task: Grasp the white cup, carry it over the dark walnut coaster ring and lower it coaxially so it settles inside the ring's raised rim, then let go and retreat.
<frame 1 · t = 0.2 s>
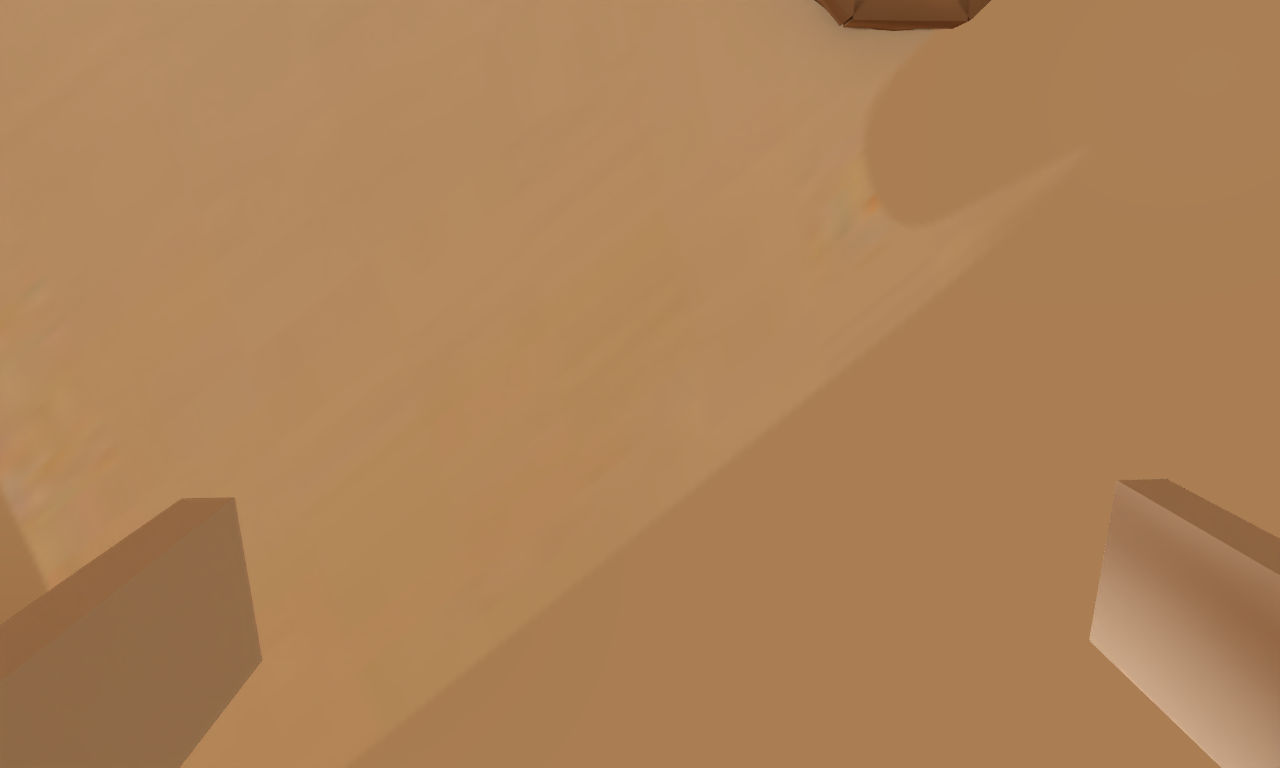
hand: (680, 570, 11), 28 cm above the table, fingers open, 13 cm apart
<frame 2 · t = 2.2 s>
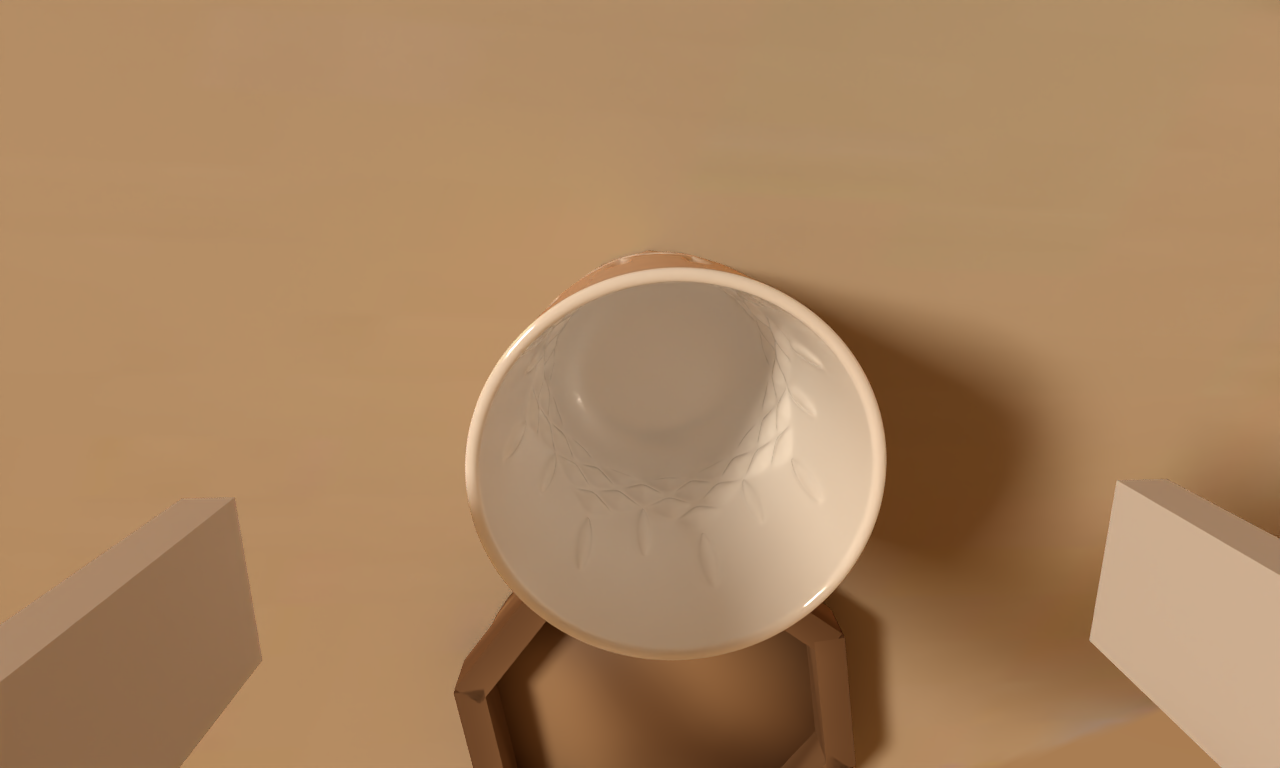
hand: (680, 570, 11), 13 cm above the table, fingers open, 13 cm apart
white cup: (655, 355, 23), on the table
coaster ring: (656, 688, 26), on the table
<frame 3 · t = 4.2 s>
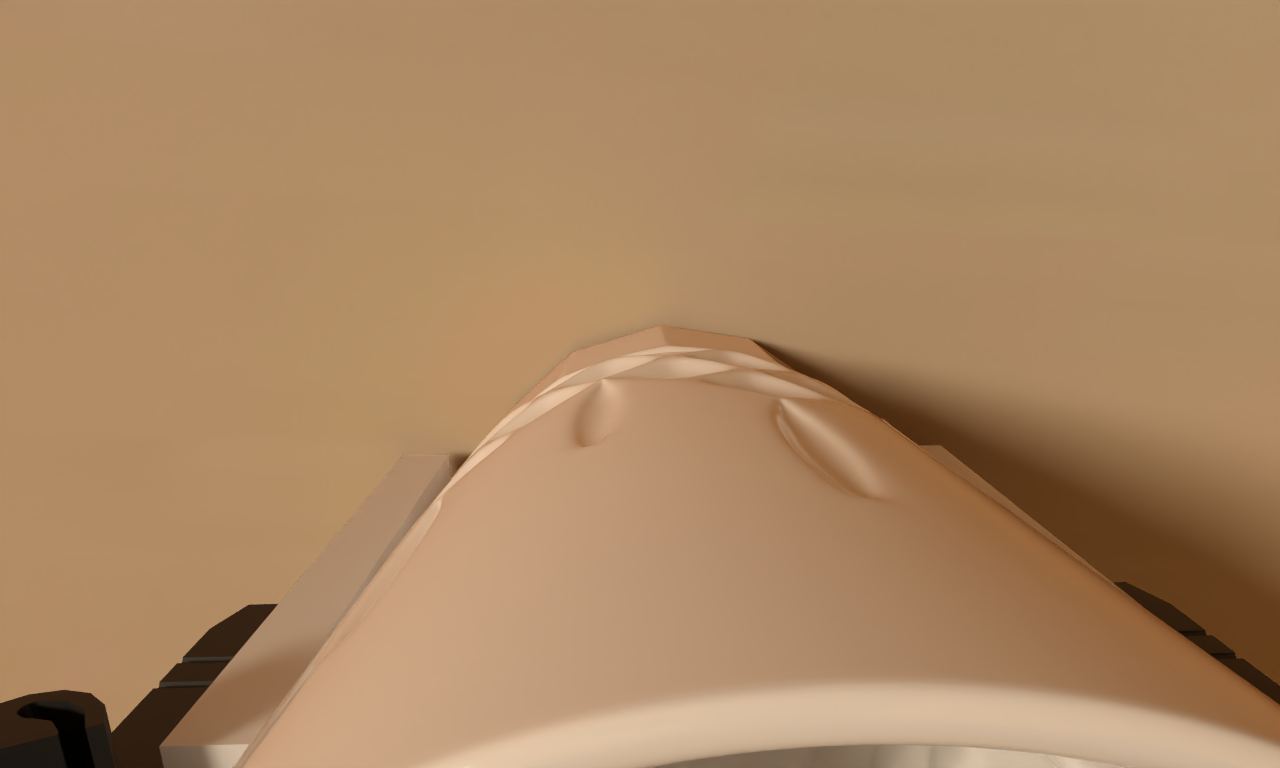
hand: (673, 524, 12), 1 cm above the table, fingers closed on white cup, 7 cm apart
white cup: (670, 503, 13), on the table, touching gripper
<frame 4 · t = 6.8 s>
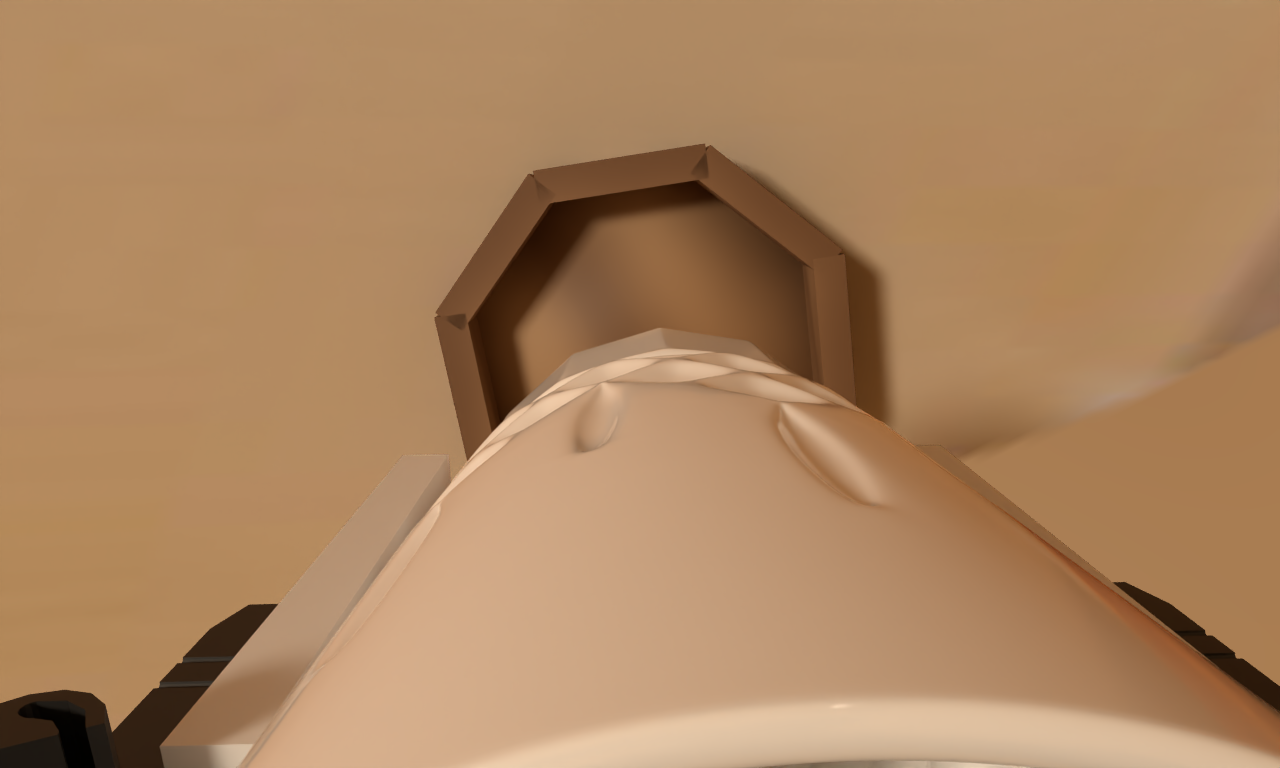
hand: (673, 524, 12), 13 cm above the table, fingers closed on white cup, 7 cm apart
white cup: (670, 505, 13), point 12 cm above the table, touching gripper
coaster ring: (648, 351, 25), on the table
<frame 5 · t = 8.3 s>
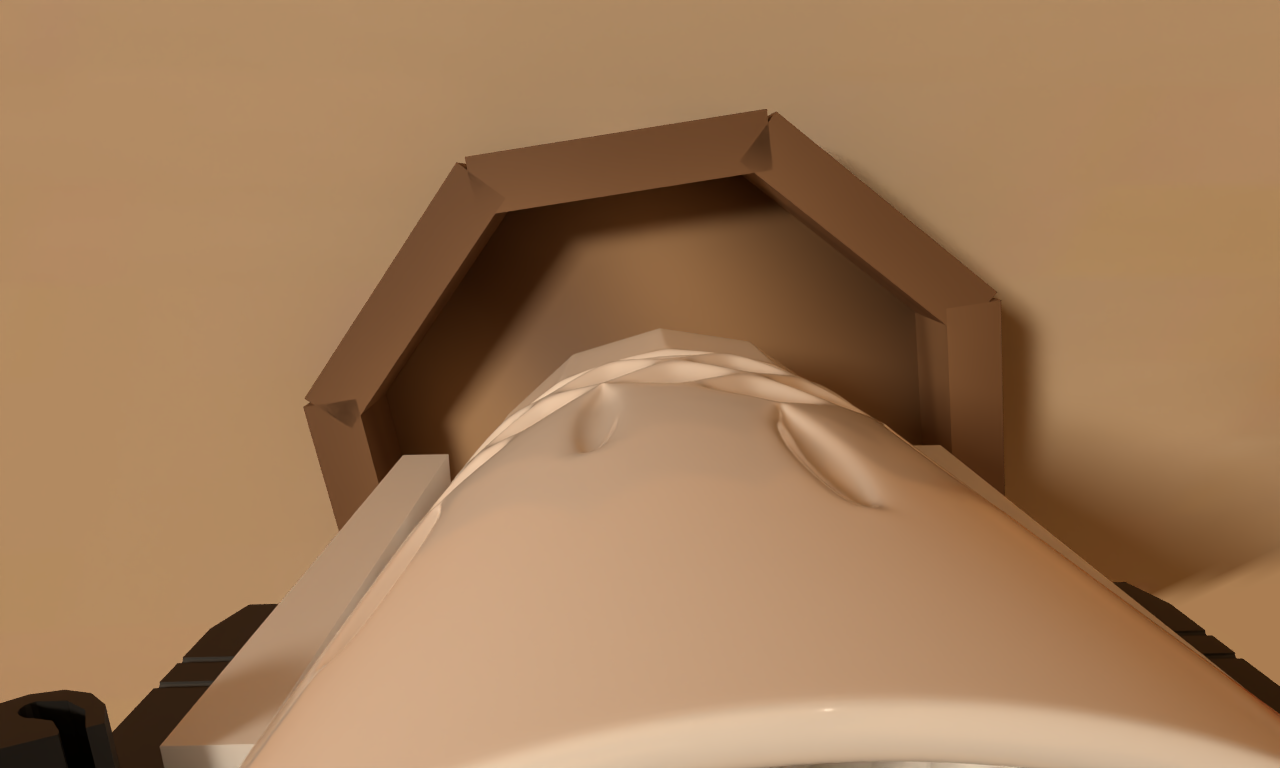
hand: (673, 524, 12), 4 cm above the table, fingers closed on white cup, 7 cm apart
white cup: (670, 505, 13), point 3 cm above the table, touching gripper
coaster ring: (662, 446, 16), on the table
when the fingers open (3 cm above the table, at t = 9.3 s): white cup drops 2 cm, resting on coaster ring.
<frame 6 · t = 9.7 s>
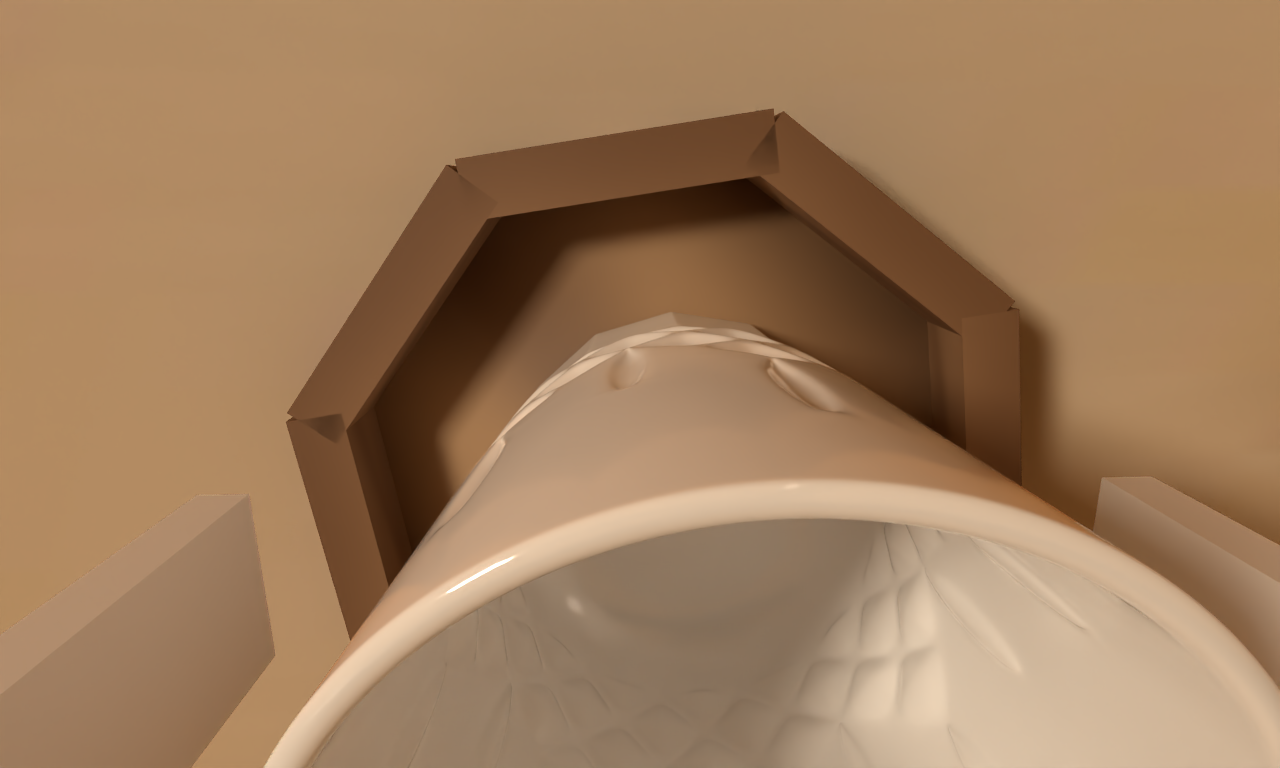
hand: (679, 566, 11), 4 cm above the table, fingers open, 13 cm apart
white cup: (678, 470, 15), resting on coaster ring
coaster ring: (663, 460, 15), on the table
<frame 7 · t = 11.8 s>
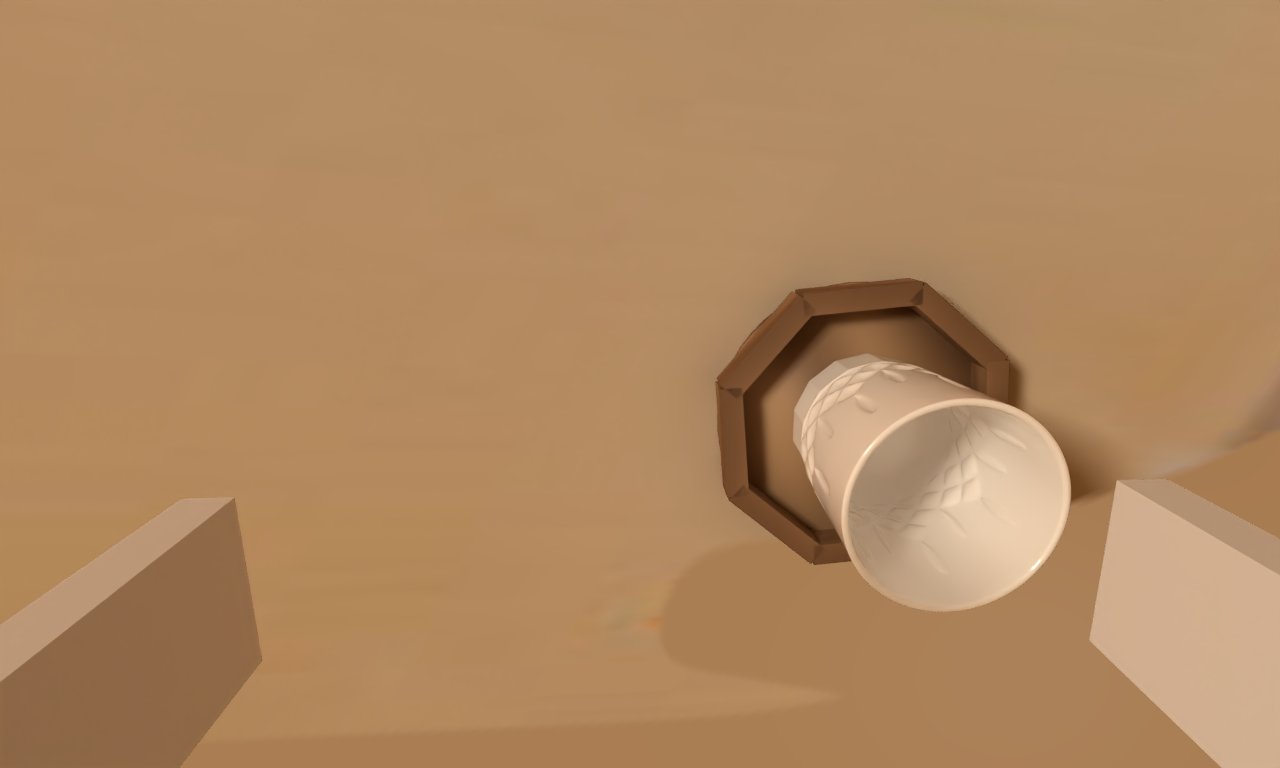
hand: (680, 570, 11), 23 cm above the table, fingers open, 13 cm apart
white cup: (859, 420, 34), resting on coaster ring
coaster ring: (851, 416, 35), on the table
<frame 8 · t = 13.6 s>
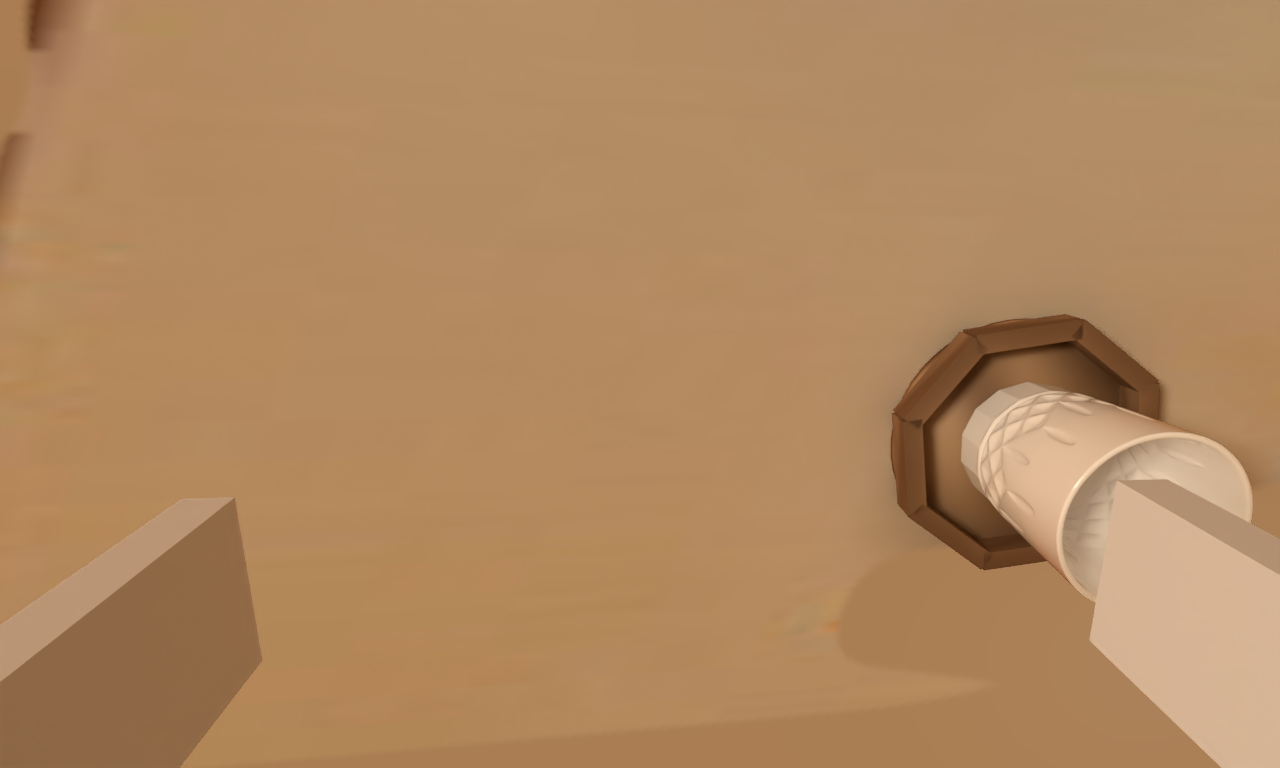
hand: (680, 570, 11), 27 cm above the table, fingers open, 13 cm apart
white cup: (1019, 440, 39), resting on coaster ring
coaster ring: (1009, 437, 39), on the table
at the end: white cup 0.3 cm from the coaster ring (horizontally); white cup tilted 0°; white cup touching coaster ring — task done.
